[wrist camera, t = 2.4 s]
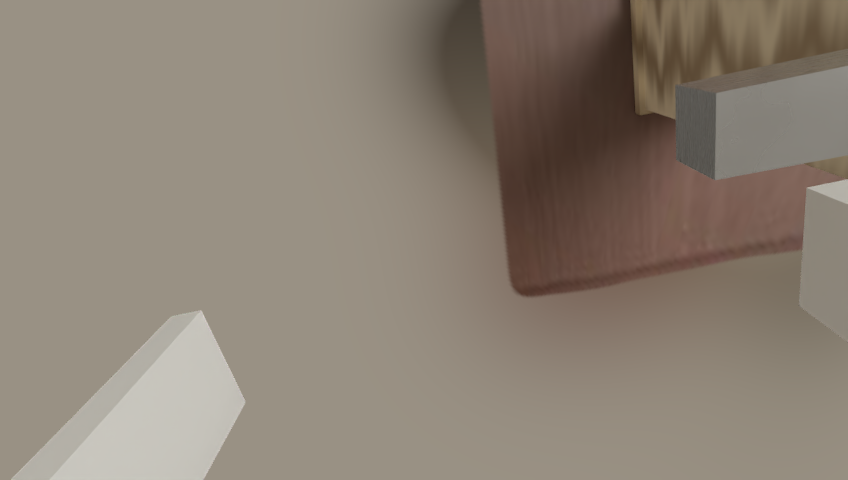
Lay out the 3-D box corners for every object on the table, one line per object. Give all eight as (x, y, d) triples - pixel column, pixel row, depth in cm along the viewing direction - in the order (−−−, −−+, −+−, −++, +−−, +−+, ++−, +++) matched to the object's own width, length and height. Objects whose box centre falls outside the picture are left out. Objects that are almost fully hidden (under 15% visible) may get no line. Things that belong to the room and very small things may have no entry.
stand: (629, -11, 42) (898, -84, 17) (736, -37, 41) (1187, -152, 16) (635, 113, 46) (859, 200, 21) (732, 93, 45) (1087, 160, 20)
